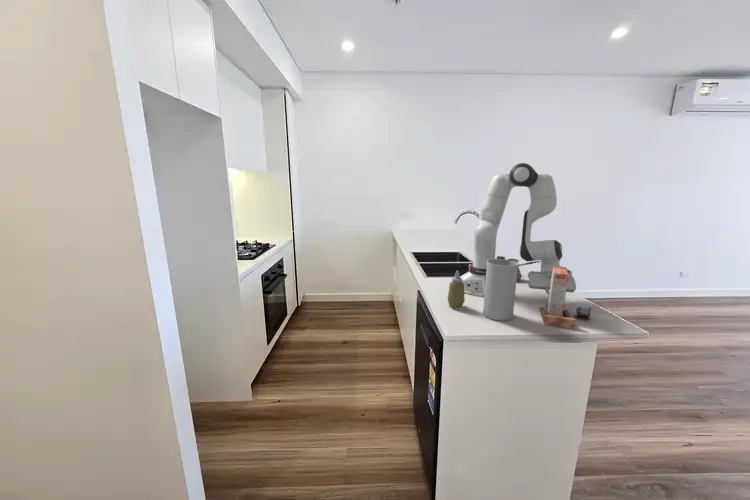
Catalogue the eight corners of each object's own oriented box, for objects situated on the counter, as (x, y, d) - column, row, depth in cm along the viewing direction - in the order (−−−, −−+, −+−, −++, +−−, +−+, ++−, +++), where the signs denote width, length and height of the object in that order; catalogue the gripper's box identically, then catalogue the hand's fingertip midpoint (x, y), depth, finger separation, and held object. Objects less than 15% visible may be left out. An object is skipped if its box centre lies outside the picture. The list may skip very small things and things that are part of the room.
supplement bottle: (506, 276, 197) (507, 258, 194) (494, 275, 198) (496, 257, 195) (503, 273, 203) (505, 255, 201) (493, 272, 204) (494, 255, 202)
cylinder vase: (477, 311, 141) (481, 259, 136) (500, 308, 145) (504, 258, 140) (494, 323, 130) (499, 266, 124) (519, 319, 133) (524, 264, 128)
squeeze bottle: (452, 302, 153) (454, 267, 149) (467, 306, 147) (469, 271, 144) (443, 306, 148) (445, 270, 144) (458, 311, 142) (460, 274, 138)
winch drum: (576, 319, 133) (578, 307, 132) (574, 315, 137) (576, 304, 136) (591, 321, 131) (593, 309, 130) (588, 317, 135) (590, 305, 134)
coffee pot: (497, 279, 190) (499, 256, 187) (506, 276, 197) (508, 253, 194) (533, 288, 174) (536, 262, 171) (541, 283, 182) (544, 259, 179)
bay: (544, 324, 128) (545, 316, 127) (539, 310, 143) (540, 302, 142) (574, 329, 124) (576, 320, 123) (566, 314, 139) (567, 305, 138)
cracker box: (562, 320, 132) (569, 274, 128) (547, 317, 135) (552, 272, 131) (561, 309, 144) (567, 266, 140) (547, 306, 147) (552, 265, 143)
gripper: (528, 267, 153) (529, 292, 147) (575, 271, 146) (578, 297, 140) (526, 273, 158) (527, 297, 152) (572, 277, 151) (574, 303, 145)
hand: (552, 297), depth 145 cm, fingers closed, pressing on cracker box
